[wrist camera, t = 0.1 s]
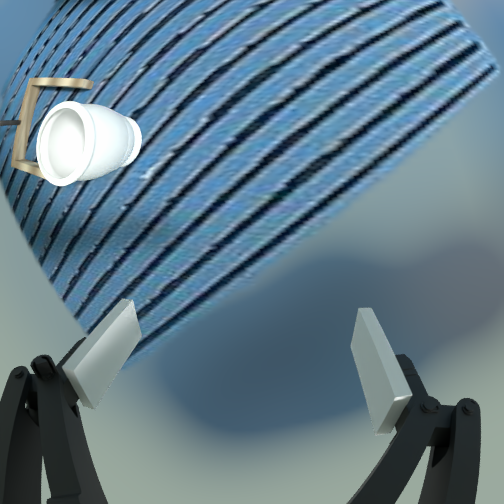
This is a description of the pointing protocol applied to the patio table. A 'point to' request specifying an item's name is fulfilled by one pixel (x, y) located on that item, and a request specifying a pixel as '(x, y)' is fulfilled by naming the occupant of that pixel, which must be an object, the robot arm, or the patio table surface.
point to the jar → (85, 142)
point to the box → (27, 115)
